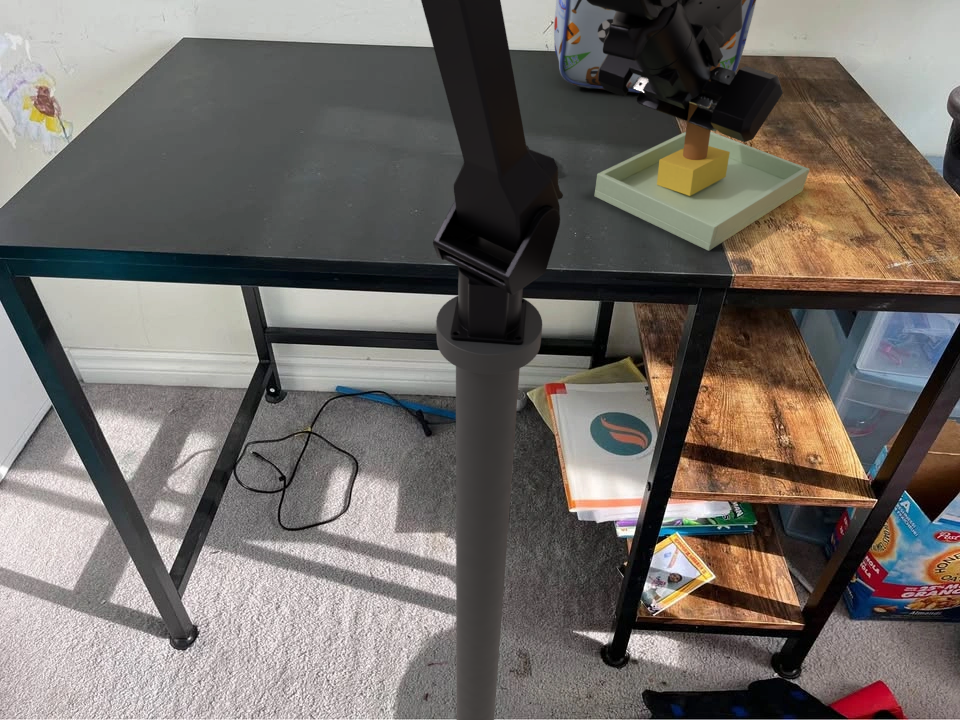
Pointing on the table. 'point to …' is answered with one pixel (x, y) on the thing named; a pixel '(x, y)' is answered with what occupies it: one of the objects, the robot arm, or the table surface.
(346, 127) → the table surface
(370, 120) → the table surface
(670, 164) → the sponge wand
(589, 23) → the lunch box
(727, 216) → the tray
